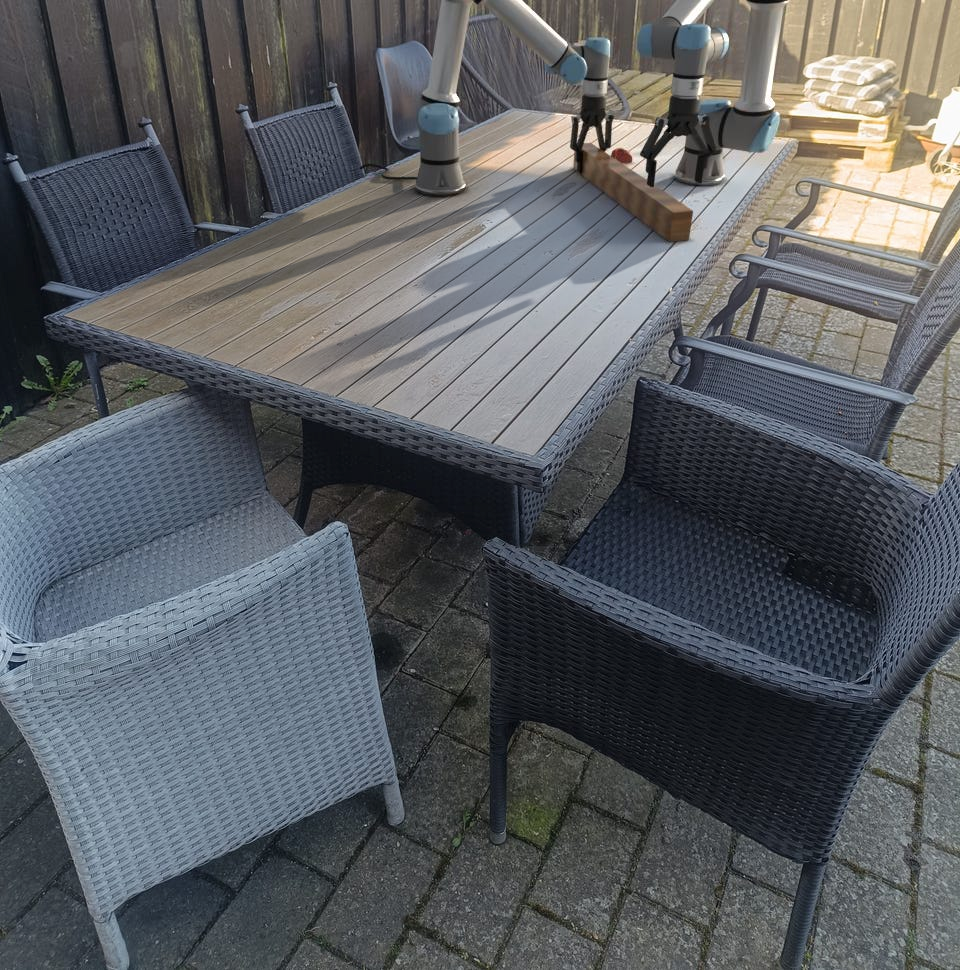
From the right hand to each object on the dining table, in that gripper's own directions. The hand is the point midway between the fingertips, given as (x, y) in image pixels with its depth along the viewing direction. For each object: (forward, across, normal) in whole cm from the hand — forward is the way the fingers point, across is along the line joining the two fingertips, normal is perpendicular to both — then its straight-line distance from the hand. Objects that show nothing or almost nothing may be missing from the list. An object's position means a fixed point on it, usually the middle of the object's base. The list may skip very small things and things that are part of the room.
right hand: (674, 183), depth 219 cm
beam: (+13, 0, +29) cm, 32 cm away
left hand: (+12, 0, +59) cm, 60 cm away
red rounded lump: (+13, +16, +69) cm, 72 cm away
